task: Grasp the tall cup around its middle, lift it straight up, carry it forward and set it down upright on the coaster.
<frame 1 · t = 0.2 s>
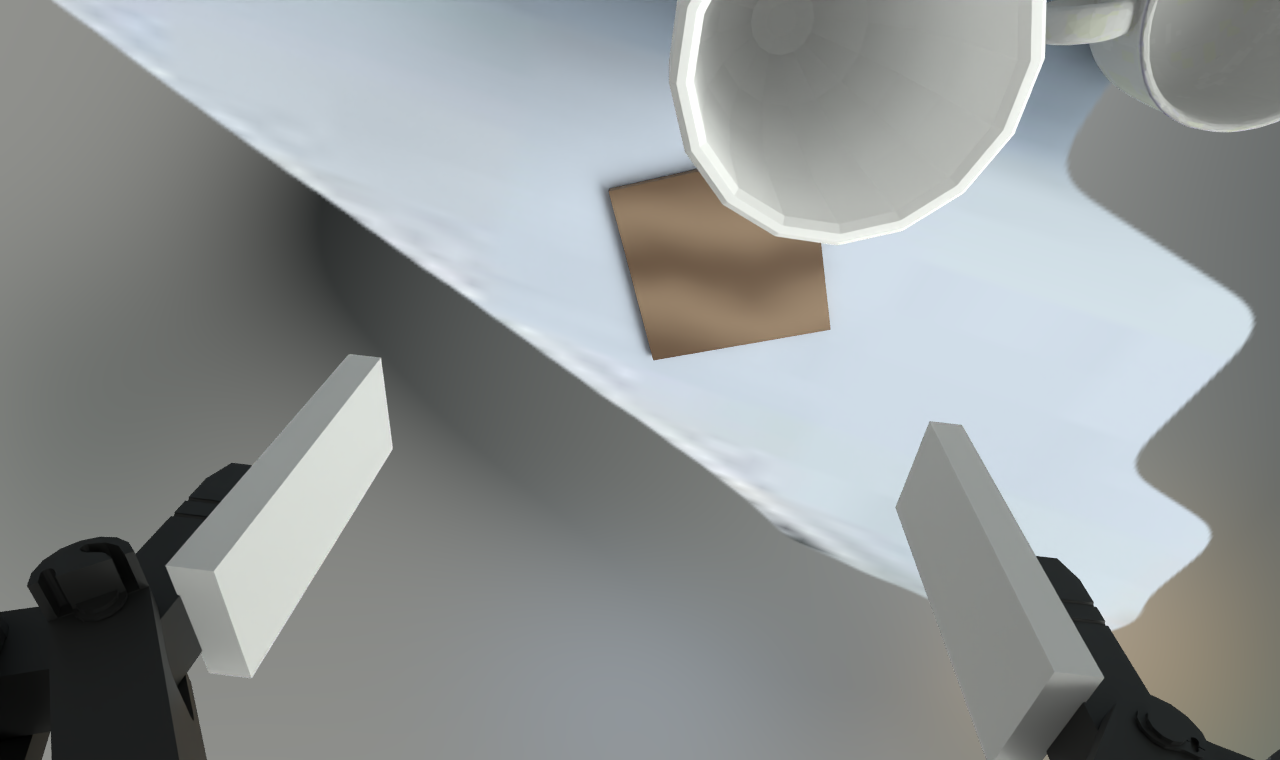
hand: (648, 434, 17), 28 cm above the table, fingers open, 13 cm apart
coaster: (724, 260, 43), on the table
cup: (774, 15, 36), on the table
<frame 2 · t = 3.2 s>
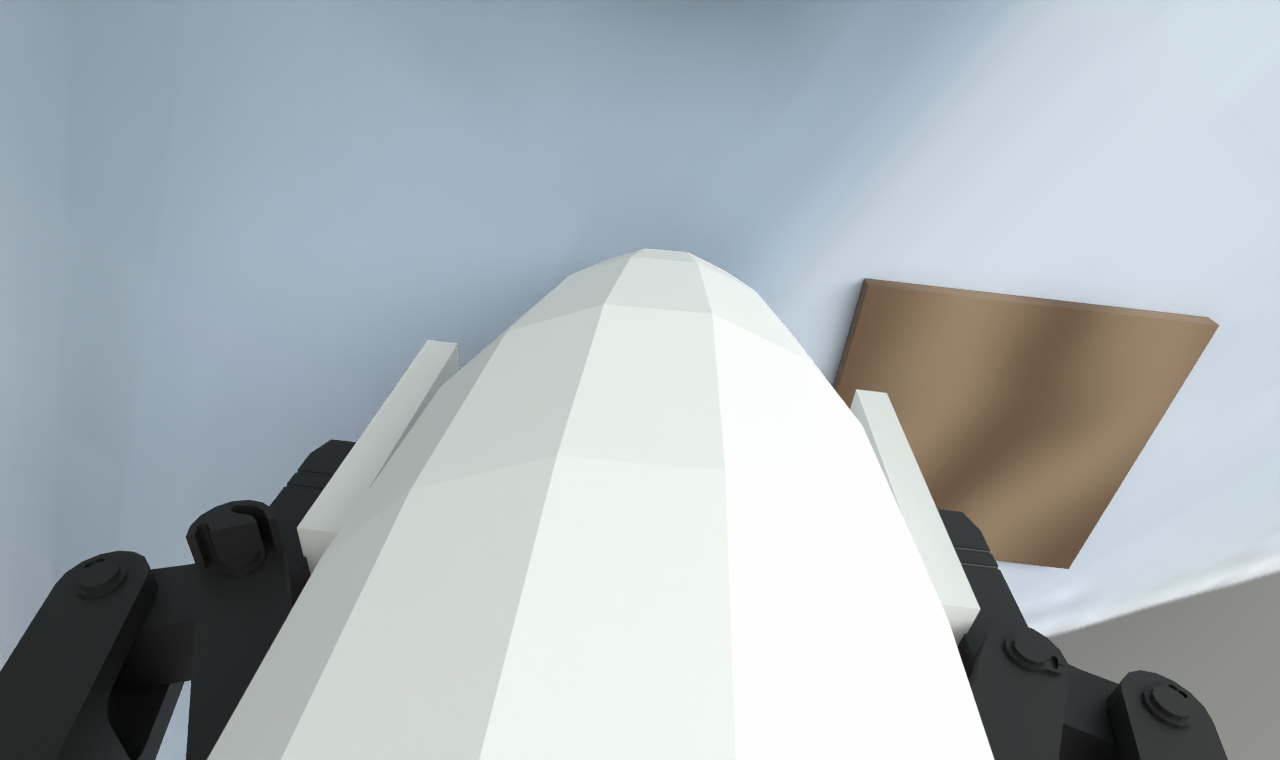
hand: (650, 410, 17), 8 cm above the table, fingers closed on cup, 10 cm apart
coaster: (975, 434, 27), on the table
cup: (664, 278, 25), on the table, touching gripper
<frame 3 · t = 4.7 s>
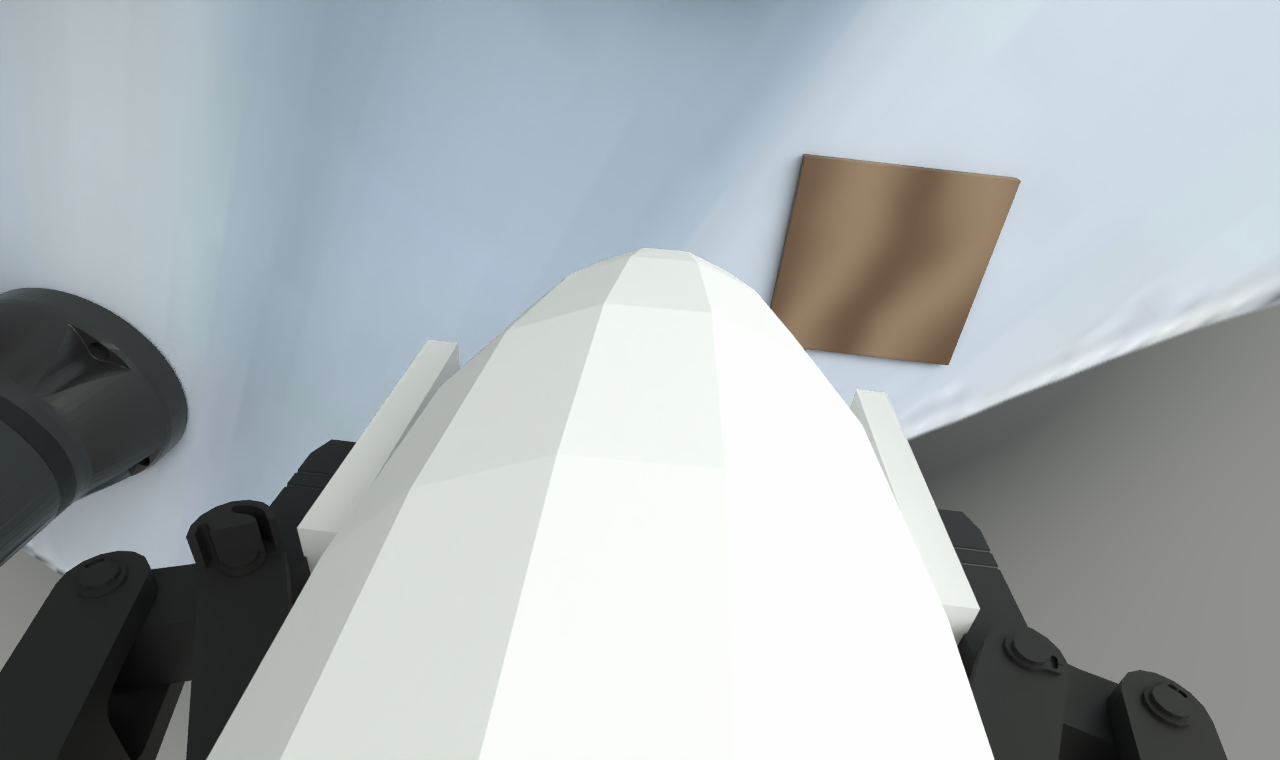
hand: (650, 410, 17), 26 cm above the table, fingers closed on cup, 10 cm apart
coaster: (880, 265, 41), on the table
cup: (663, 278, 25), point 17 cm above the table, touching gripper
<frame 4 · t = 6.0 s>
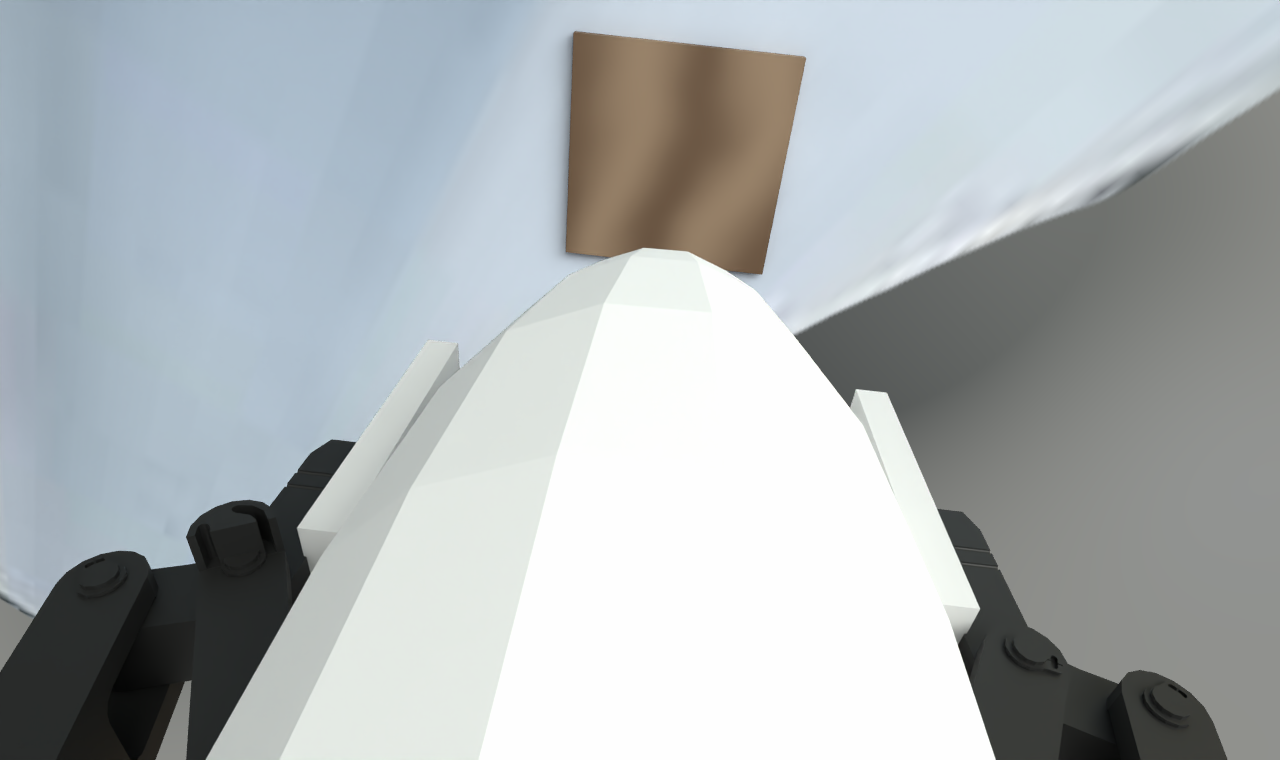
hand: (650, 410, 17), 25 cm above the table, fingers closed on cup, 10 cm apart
coaster: (675, 160, 39), on the table
cup: (664, 278, 25), point 17 cm above the table, touching gripper
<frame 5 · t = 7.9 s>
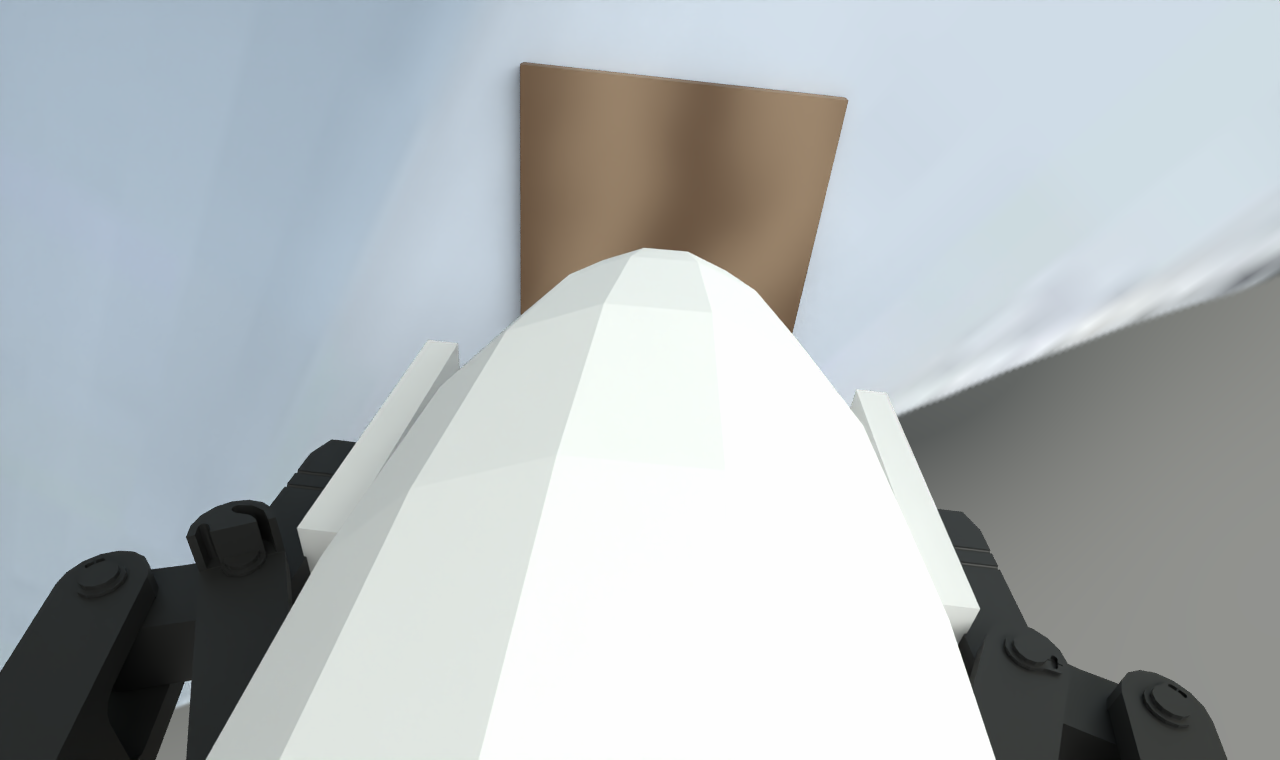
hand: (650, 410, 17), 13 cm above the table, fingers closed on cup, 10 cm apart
coaster: (666, 234, 28), on the table
cup: (664, 278, 25), point 5 cm above the table, touching gripper
when the fingers open (10 cm above the table, at t = 9.2 s): cup stays where it is, resting on coaster.
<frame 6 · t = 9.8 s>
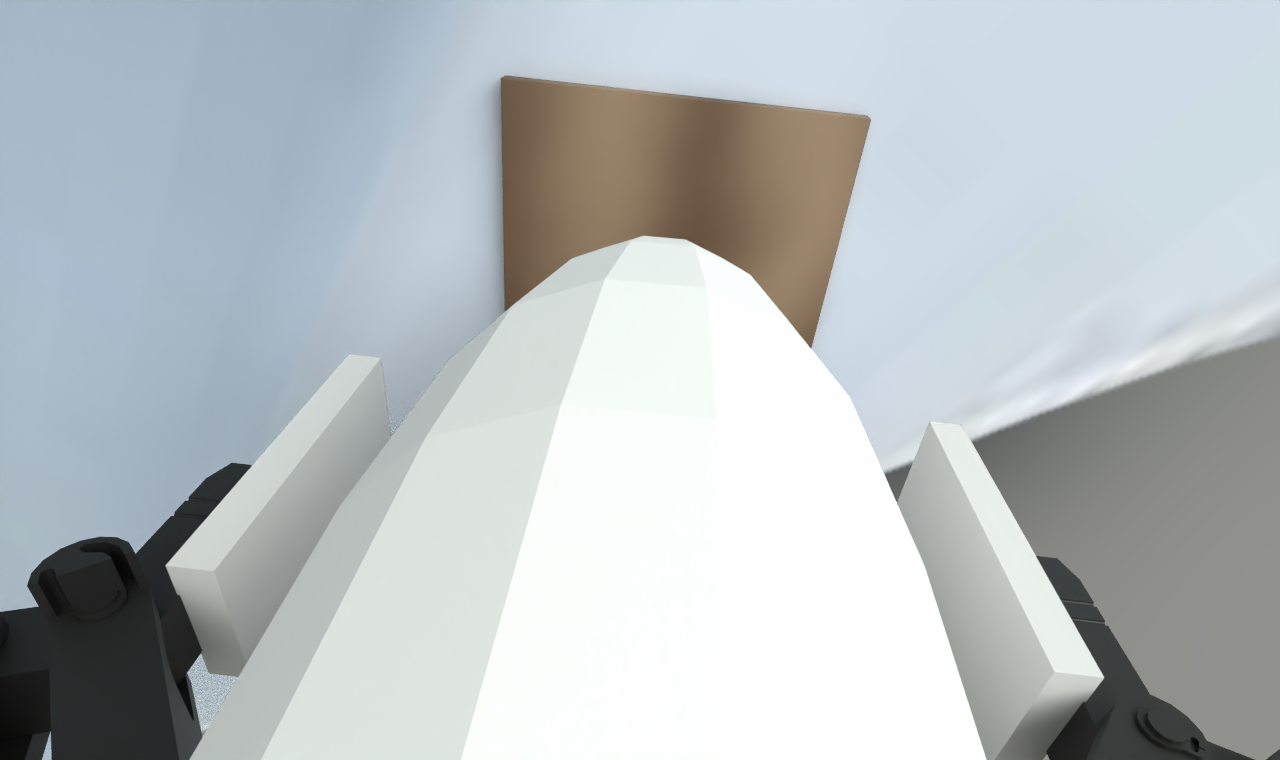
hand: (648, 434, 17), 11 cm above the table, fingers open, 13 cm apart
coaster: (665, 264, 26), on the table
cup: (663, 268, 25), resting on coaster
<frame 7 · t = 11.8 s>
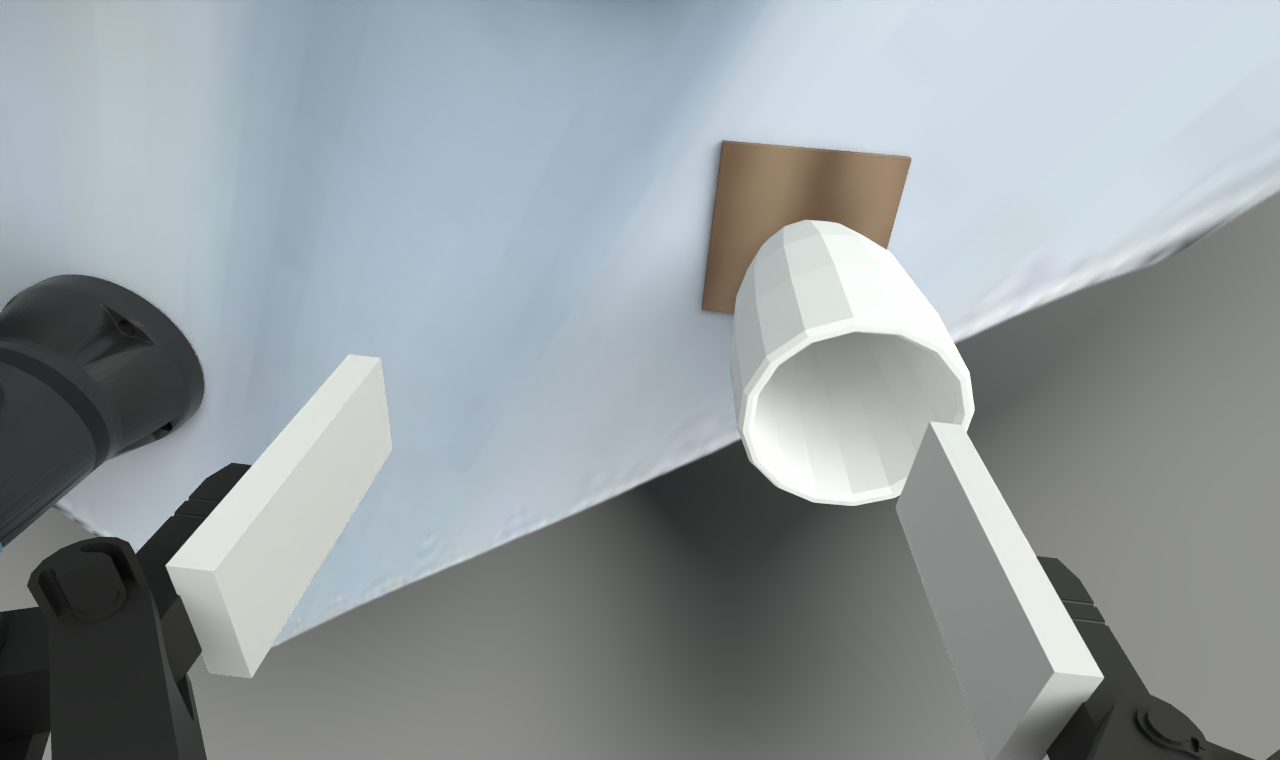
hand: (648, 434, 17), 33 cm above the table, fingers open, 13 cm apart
coaster: (798, 236, 47), on the table
cup: (797, 238, 47), resting on coaster
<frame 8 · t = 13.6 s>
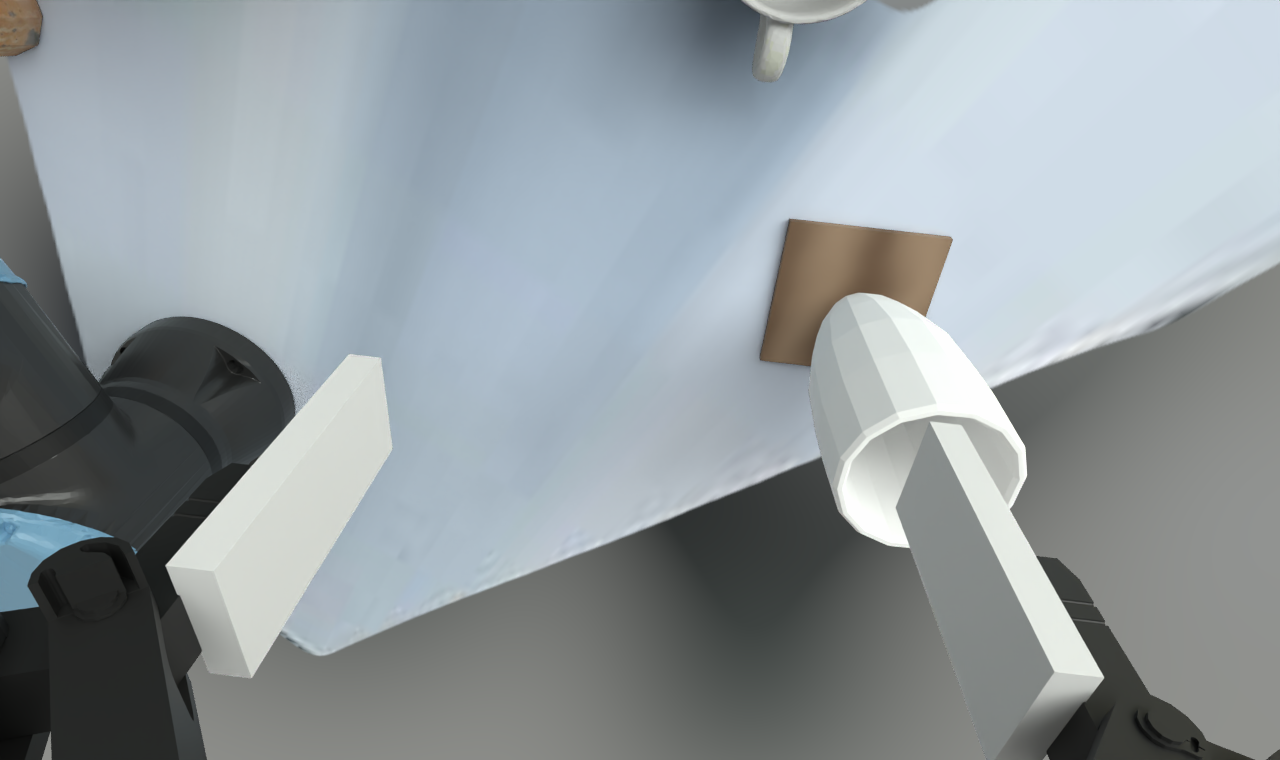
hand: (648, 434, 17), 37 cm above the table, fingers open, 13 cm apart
coaster: (849, 300, 54), on the table
cup: (849, 302, 53), resting on coaster
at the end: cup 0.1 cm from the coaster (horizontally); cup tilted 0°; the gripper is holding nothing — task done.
